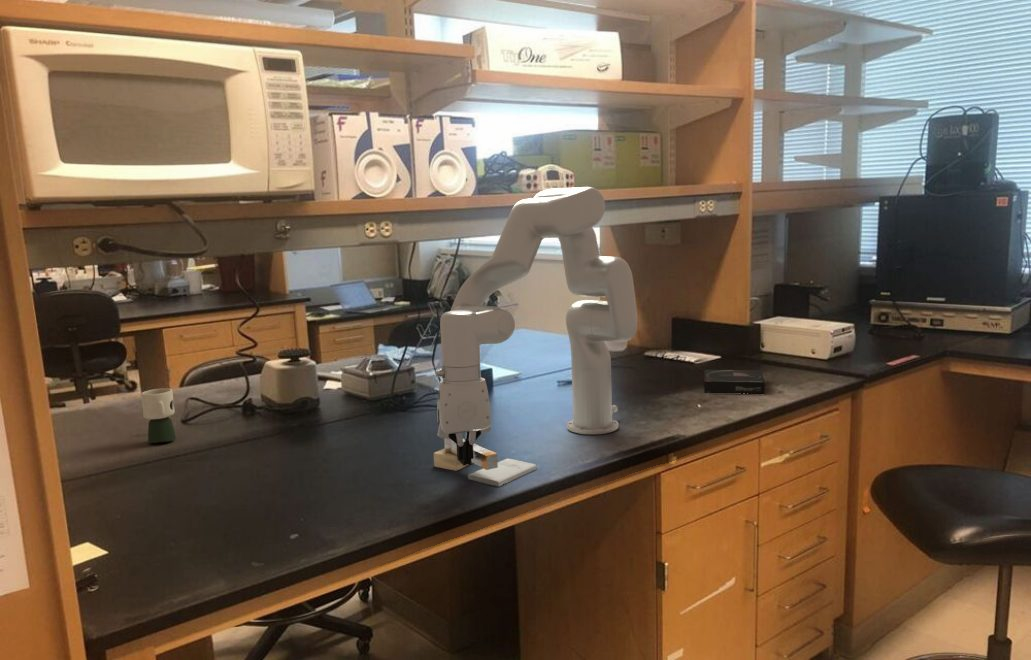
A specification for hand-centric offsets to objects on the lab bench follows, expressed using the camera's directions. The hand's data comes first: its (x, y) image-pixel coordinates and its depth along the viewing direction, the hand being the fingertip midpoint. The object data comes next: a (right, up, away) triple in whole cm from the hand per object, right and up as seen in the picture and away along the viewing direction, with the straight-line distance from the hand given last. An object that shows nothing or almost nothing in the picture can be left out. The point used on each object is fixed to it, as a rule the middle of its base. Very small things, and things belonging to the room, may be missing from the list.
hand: (465, 463), depth 153 cm
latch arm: (+1, 0, +5) cm, 5 cm away
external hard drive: (+8, -4, +5) cm, 10 cm away
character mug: (-78, -2, +38) cm, 87 cm away
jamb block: (-3, -2, +11) cm, 12 cm away
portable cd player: (+74, +9, +71) cm, 103 cm away
